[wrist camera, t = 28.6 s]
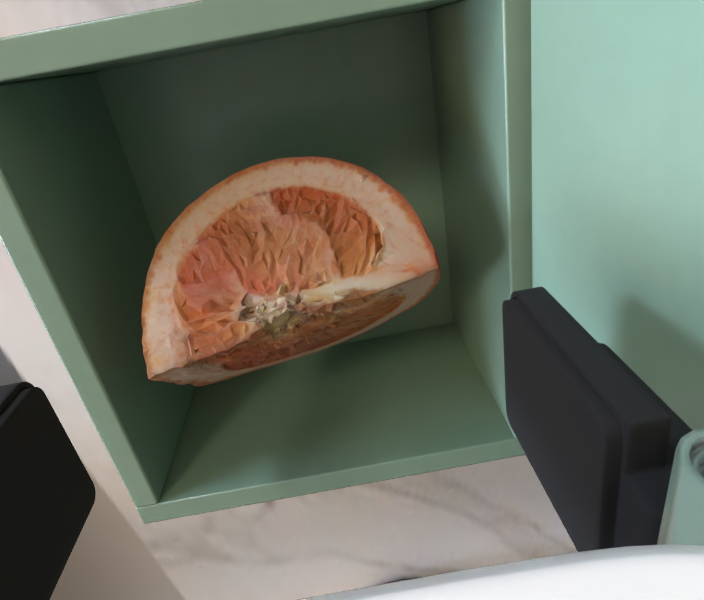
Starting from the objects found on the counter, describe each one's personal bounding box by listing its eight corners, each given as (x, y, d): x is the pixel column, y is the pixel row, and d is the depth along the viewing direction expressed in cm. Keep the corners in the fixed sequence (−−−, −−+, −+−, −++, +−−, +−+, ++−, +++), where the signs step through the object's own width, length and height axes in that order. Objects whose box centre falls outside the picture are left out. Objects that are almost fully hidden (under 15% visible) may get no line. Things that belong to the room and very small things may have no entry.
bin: (194, 375, 25) (143, 524, 17) (73, 50, 19) (-95, 55, 11) (466, 326, 25) (538, 453, 17) (441, -18, 19) (538, -63, 11)
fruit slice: (219, 369, 19) (199, 463, 15) (124, 206, 16) (63, 263, 12) (429, 290, 19) (473, 363, 14) (370, 108, 16) (402, 129, 11)
